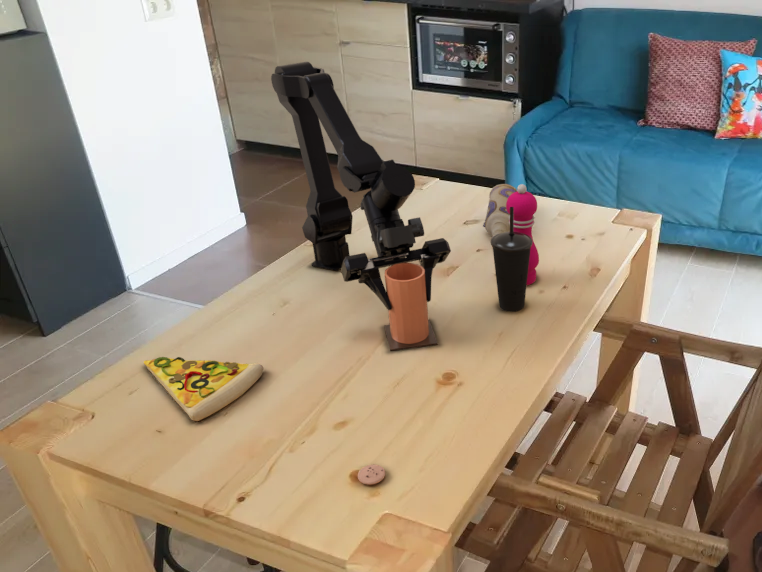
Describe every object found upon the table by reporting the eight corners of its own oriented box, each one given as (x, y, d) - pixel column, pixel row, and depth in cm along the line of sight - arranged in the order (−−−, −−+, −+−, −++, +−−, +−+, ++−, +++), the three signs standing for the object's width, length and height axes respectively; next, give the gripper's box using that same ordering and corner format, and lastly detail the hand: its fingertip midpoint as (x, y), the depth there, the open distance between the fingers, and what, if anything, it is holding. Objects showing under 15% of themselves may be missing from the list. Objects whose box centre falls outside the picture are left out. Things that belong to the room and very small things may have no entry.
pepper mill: (497, 283, 152) (496, 188, 140) (511, 268, 157) (511, 175, 146) (531, 290, 150) (533, 194, 138) (543, 274, 155) (546, 180, 143)
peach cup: (384, 339, 134) (377, 277, 127) (401, 321, 139) (395, 260, 132) (419, 346, 132) (413, 283, 125) (435, 327, 137) (431, 266, 130)
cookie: (388, 467, 107) (387, 461, 106) (382, 486, 104) (382, 481, 103) (361, 466, 107) (360, 460, 107) (355, 485, 104) (354, 480, 103)
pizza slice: (203, 426, 115) (198, 410, 113) (108, 390, 122) (102, 375, 120) (272, 374, 126) (268, 359, 124) (181, 344, 133) (177, 330, 131)
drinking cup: (484, 309, 143) (482, 211, 132) (503, 292, 149) (502, 196, 137) (520, 319, 140) (521, 219, 129) (538, 301, 146) (540, 203, 134)
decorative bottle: (489, 208, 183) (488, 182, 179) (520, 209, 183) (520, 183, 179) (478, 255, 162) (478, 226, 158) (513, 257, 162) (514, 228, 158)
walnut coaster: (390, 351, 132) (390, 349, 131) (384, 327, 138) (384, 325, 138) (437, 344, 133) (437, 342, 133) (429, 321, 140) (429, 319, 140)
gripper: (336, 212, 122) (363, 302, 120) (444, 194, 128) (470, 279, 126) (331, 238, 132) (355, 321, 130) (431, 220, 138) (455, 299, 137)
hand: (409, 305), depth 131 cm, fingers closed on peach cup, 7 cm apart
